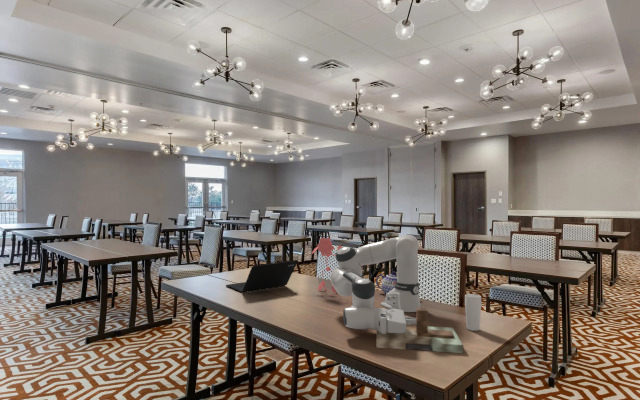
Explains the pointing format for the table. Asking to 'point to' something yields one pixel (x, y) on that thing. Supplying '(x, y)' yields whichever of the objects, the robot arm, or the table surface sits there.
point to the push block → (423, 326)
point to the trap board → (420, 341)
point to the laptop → (266, 276)
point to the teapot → (387, 282)
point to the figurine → (325, 250)
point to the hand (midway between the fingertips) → (416, 321)
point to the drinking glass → (473, 311)
